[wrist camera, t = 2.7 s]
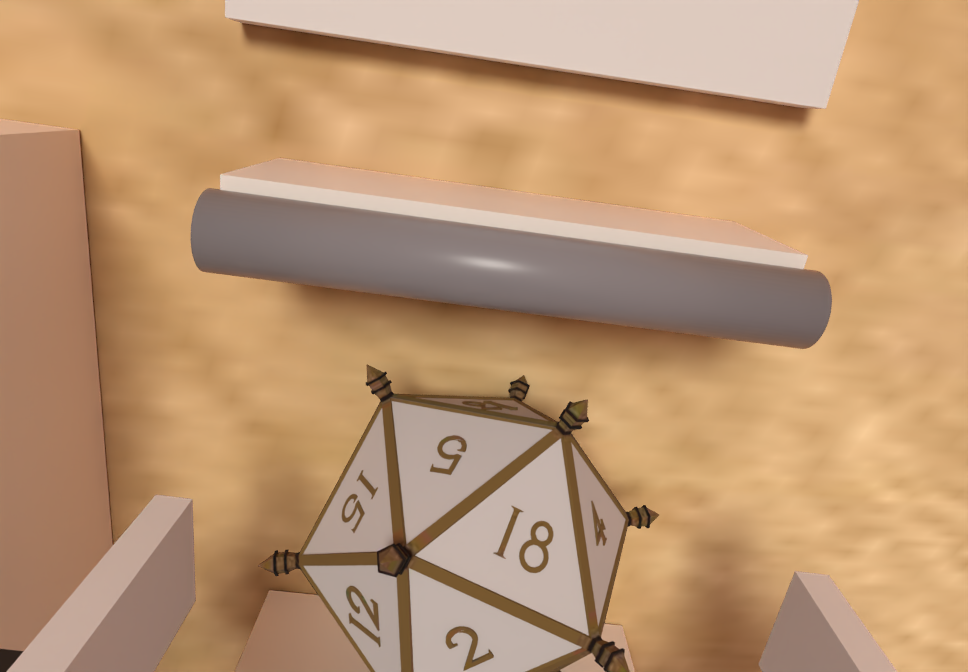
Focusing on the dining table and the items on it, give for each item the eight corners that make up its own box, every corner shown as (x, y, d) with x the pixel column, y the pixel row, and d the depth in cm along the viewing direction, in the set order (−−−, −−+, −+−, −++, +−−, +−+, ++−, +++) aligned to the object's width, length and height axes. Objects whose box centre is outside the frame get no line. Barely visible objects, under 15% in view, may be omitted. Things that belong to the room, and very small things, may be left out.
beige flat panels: (610, 669, 22) (707, 1081, 13) (58, 615, 21) (-276, 1024, 12) (733, 221, 17) (1061, 371, 7) (-4, 117, 16) (-722, 139, 6)
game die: (523, 379, 22) (801, 516, 15) (410, 595, 22) (639, 847, 15) (320, 264, 16) (617, 400, 9) (158, 559, 16) (331, 958, 8)
